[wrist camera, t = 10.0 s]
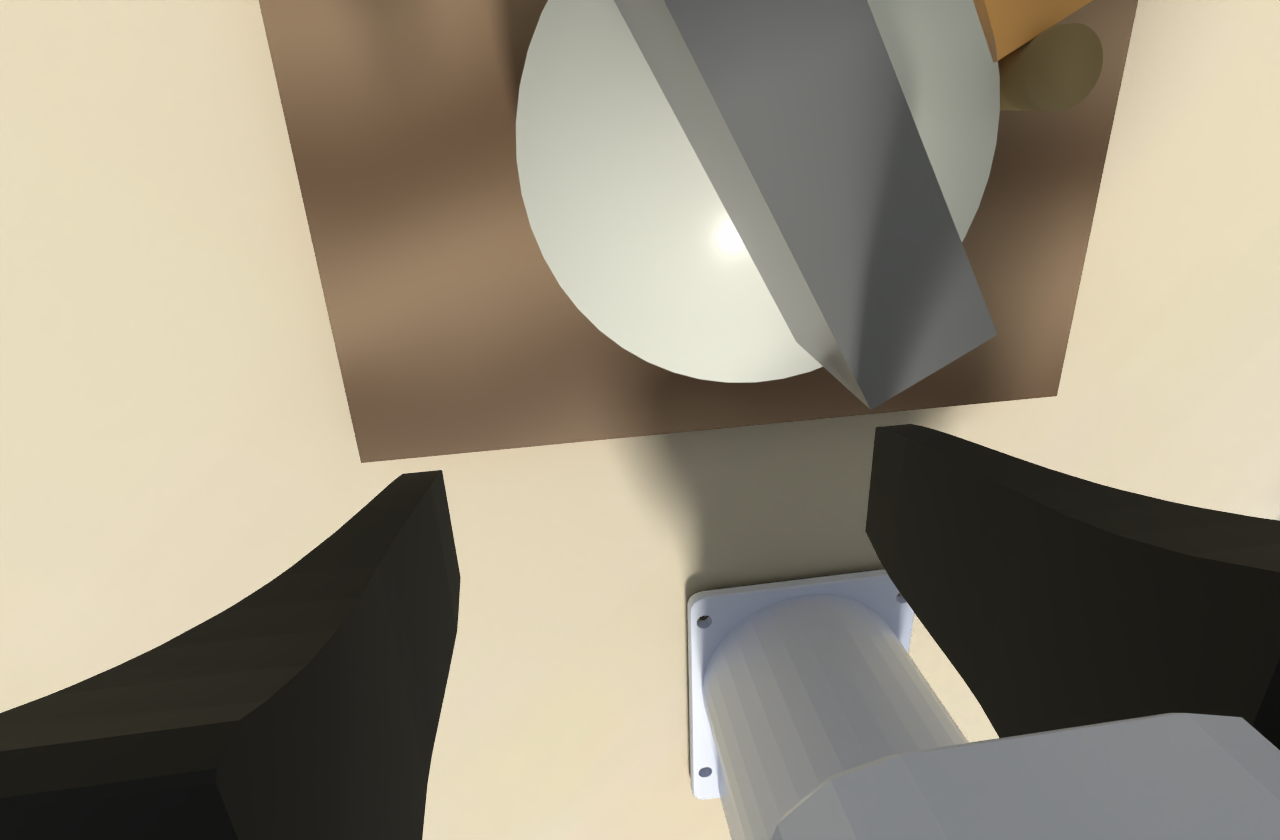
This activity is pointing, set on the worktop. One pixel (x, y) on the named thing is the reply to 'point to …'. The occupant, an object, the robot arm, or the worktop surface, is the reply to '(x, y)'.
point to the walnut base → (523, 282)
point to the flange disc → (770, 177)
